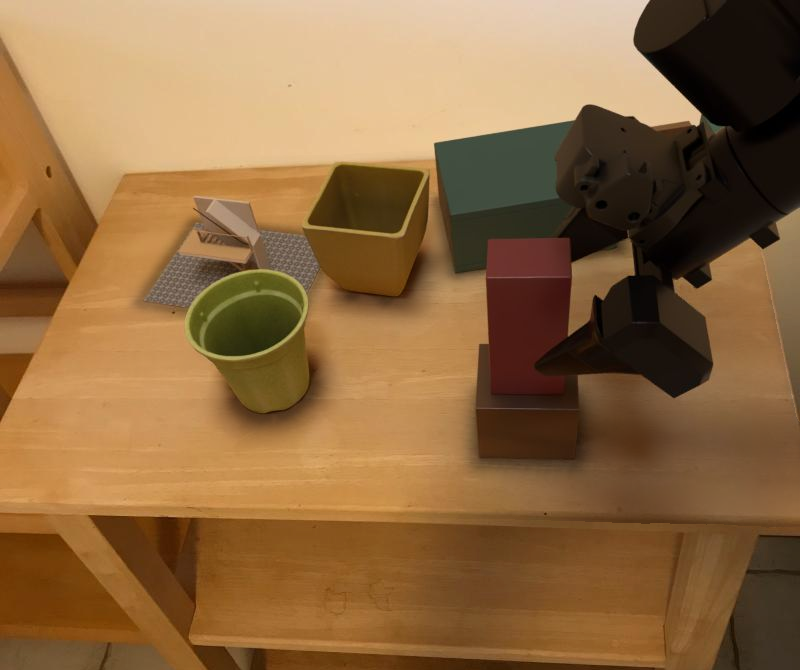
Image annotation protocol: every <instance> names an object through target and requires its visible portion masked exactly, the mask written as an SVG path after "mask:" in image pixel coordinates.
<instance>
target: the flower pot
mask: <svg viewBox="0 0 800 670" xmlns="http://www.w3.org/2000/svg"><path fill="white" fill-rule="evenodd" d="M430 176H431V175H430V169H428V168H424V167H414V166H404V165H403V166H402V165H401V166H399V165H390V164H389V165H387V164H376V163H375V164H374V163H365V162H354V161H353V162H352V161H335V162H333V163H332V165H331V167H330V168H329V170H328V172H327V175H326V177H325V179H324V180H323V183H322V185H321V187H320V189H319V191H318V193H317V195H316V197H315V198H314V200H313V202H312V203H311V205H310V207H309V208H308V210H307V213H306V215H305V216H304V218H303V220H302V222H301V229H302V231H303V233H304V235H305V236H306V238H307V240H308V242H309V245H310V247H311V249H312V251H313V253H314V256H315V258H316V260H317V262H318V264H319V266H320V269H321V270H322V272H323V273H324V274H325V275H326V277H328V278H329V279H330V280H331V281H332V282H334V283H335V284H336V285H338V286H340V287H341V288H343V289H345V290H347V291H350V292H356V293H366V294H374V295H381V296H387V297H399V296H400V295H401V294H402V292H403V291H404V289H405V287H406V284H407V282H408V279H409V277H410V273H411V271H412V269H413V266H414V263H415V261H416V258H417V255H418V253H419V251H420V249H421V246H422V245H423V244H422V243H423V241H424V239H425V234H426V232H427V231H426V230H427V226H428V221H429V208H430V207H429V204H430V178H431V177H430Z"/></svg>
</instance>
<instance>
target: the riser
mask: <svg viewBox="0 0 800 670" xmlns="http://www.w3.org/2000/svg"><path fill="white" fill-rule="evenodd" d="M477 355H478V358H477V371H476V373H477V374H476V389H475V407H474V408H475V423H476V437H477V439H476V440H477V451H478V452H477V453H478V458H483V459H484V458H485V459H486V458H488V459H490V458H492V459H531V460H532V459H533V460H534V459H535V460H536V459H538V460H539V459H541V460H575V457H576V449H577V448H576V447H577V438H578V428H579V427H578V426H579V416H580V394H579V375H566V376H565V384H564V394H563V395H558V394H491V390H490V366H489V343H479V344H478V354H477Z"/></svg>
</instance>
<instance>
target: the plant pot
mask: <svg viewBox="0 0 800 670" xmlns="http://www.w3.org/2000/svg"><path fill="white" fill-rule="evenodd" d="M307 294H308V293H306V292H305V290H304V288H303V287H302V285H301V284H300V283H299V282H298V281H297V280H296V279H294V278H293V277H291V276H289V275H287V274H285V273H282V272H279V271H273V270H268V269H257V270H247V271H242V272H238V273H234V274H232V275H229V276H227V277H224V278H222V279H220V280H218V281H216V282H215V283H213V284H211V285H210V286H209V287H208V288H206V289H205V290H204V291H203V292H202V293H200V294H199V295H198V296H197V298H196V299H195V300H194V301H193V303H192V304H191V306H190V308H188V309H187V313H186V315H185V320H184V325H183V326H184V327H183V328H184V334H185V337H186V339H187V341H188V343H189V344H190V346H191V347H192V348H193V349H194V350H195V351H196V352H197V353H198V354H200V355H202V357H205V358H206V359H207V360H209V362H211V363H212V364H213V365H214V366H215V368H216V369H217V370H218V372H219V374H220V375H221V376H222V377H223V379H224V380H225V382H226V383H227V384H228V386H229V387H230V389H231V390H232V392H233V394H234V395H235V396H236V398H237V399H238V401H239V402H240V403H241V404H242V405H243V406H244V407H245V408H246V409H248V410H250V411H252V412H255V413H259V414H267V413H270V412H274V411H284V410H285V411H286V410H287V409H289V408H291V407H292V406H294V405H296V404H297V403H299V401H300V400H301V399H302V398H303V397H304V395H305V394H306V393H307V391H308V389H309V386H310V367H309V360H308V351H307V343H306V335H305V327H306V321H307V318H308V313H309V306H310V305H309V297H308V295H307Z"/></svg>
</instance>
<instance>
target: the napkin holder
mask: <svg viewBox="0 0 800 670" xmlns="http://www.w3.org/2000/svg"><path fill="white" fill-rule="evenodd" d="M192 198H193V201H194V204H195V206H196V208H197V209H196V208H195V207H192V209H193V210H194V211H195V212H197V213H198V214H199V216H200V220H201V222H199V221H198V222H195V224H194V225H193V226H192V228H191V230H190V231H189V232H188V234H187V235H186V237H185V238H184V240H183V241H182V243H181V244H180V245H179V247H178V248H177V250H176V252H175V253H174V254H173V256H172V258H171V259H170V261H169V262H168V263H167V265H166V267H165V268H164V270H163V271H162V273H161V274H160V275H159V277H158V278H157V280H156V281H155V283H154V284H153V285H152V287H151V289H150V290H149V292H148V293H147V295H146V296H145V298H144V299H143V302H149V303H155V304H163V305H170V306H175V307H182V308H188V309H189V308H190V306H191V304H192V303H193V301H194V300H195V299H196V298H197V296H198V295H199V294H200V293H202V292H203V291H204V290H205V289H206V288H208V287H209V286H210V285H211V284H213V283H215V282H216V281H218V280H220V279H222V278H224V277H227V276H229V275H232V274H234V273H238V272H242V271H247V270H257V269H268V270H273V271H279V272H282V273H285V274H287V275H289V276H291V277H293V278H294V279H296V280H297V281H298V282H299V283H300V284H301V285H302V287H303V288H304V290H305V292H306V294H308V291H309V289H310V287H311V286H312V284H313V282H314V280H315V279H316V276H317V274H318V272H319V270H320V269H321V267H320V266H319V264H318V262H317V260H316V258H315V256H314V253H313V251H312V249H311V247H310V245H309V242H308V240H307V238H306V236H305V234H304V235H303V234H295V233H288V232H281V231H271V230H263V229H259V227H258V223H257V221H256V218H255V215H254V210H253V209H252V205H251V202H250V201H246V200H245V201H244V200H236V199H227V198H218V197H210V196H209V197H208V196H200V195H193V197H192Z"/></svg>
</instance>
